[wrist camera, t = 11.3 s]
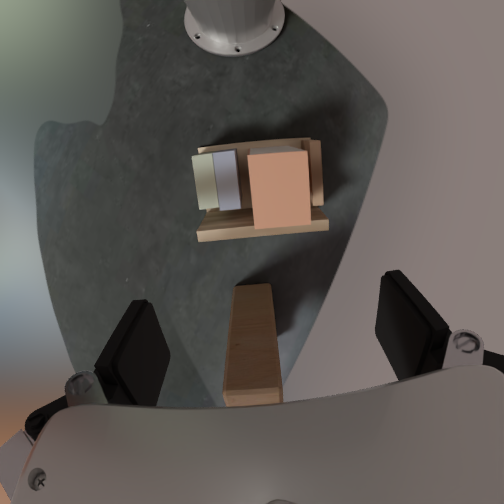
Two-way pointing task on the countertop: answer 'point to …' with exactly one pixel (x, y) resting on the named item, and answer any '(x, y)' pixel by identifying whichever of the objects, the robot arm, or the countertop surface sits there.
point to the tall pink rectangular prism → (279, 186)
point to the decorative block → (252, 349)
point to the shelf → (247, 190)
